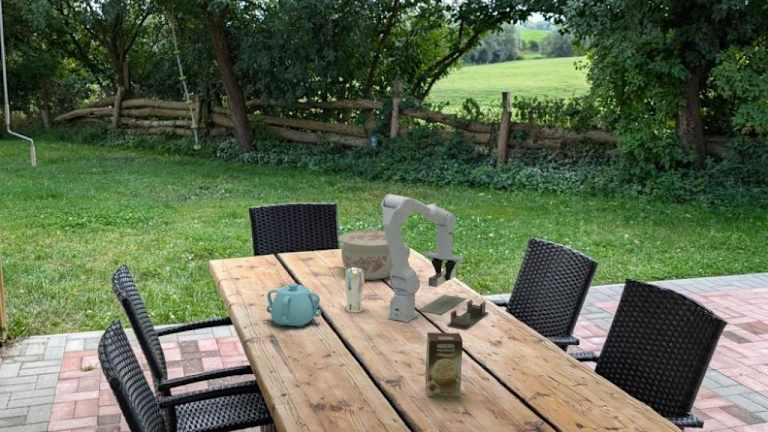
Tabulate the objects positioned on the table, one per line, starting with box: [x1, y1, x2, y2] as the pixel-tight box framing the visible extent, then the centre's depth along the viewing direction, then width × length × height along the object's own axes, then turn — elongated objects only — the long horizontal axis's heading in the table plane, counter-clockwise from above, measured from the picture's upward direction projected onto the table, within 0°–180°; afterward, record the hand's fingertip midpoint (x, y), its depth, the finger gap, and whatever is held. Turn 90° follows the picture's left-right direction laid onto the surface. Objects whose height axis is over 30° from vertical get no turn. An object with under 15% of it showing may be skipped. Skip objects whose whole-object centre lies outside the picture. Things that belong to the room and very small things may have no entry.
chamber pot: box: [337, 227, 411, 281], centre depth 318 cm, size 28×28×21 cm
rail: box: [428, 266, 458, 288], centre depth 280 cm, size 18×3×3 cm, turn 150°
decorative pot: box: [266, 283, 322, 328], centre depth 261 cm, size 16×16×14 cm
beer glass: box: [344, 268, 365, 313], centre depth 274 cm, size 7×7×15 cm
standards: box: [446, 299, 489, 331], centre depth 265 cm, size 20×7×5 cm, turn 150°
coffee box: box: [424, 332, 464, 398], centre depth 205 cm, size 9×6×16 cm
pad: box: [418, 294, 467, 316], centre depth 282 cm, size 22×9×1 cm, turn 150°
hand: (443, 279), depth 280 cm, fingers closed on rail, 3 cm apart
